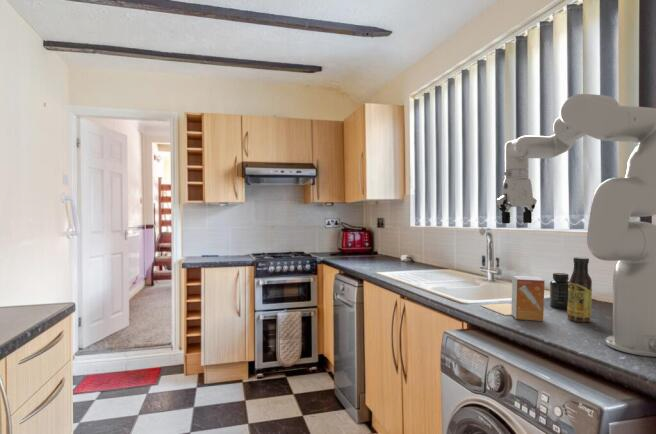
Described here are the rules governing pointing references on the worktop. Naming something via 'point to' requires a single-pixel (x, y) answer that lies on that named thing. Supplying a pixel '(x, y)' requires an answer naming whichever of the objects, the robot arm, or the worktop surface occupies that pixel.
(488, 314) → the worktop surface
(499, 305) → the cork mat
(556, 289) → the supplement bottle
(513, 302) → the small box
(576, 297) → the sauce bottle
